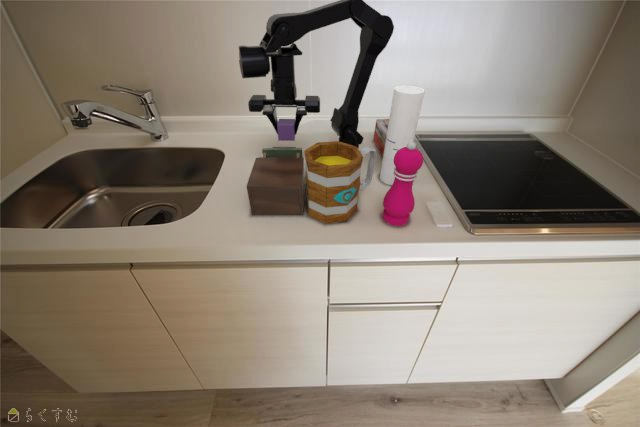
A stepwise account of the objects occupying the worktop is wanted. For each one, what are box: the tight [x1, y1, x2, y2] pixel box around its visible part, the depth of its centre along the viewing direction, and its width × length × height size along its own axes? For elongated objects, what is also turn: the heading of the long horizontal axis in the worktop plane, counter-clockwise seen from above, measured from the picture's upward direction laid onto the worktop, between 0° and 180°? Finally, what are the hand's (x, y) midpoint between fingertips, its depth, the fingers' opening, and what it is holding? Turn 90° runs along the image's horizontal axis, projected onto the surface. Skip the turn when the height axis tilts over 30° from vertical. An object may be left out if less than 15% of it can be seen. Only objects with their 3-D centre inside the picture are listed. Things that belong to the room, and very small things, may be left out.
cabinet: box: [246, 157, 305, 216], centre depth 73 cm, size 14×13×9 cm
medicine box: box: [373, 118, 389, 157], centre depth 96 cm, size 15×8×8 cm, turn 6°
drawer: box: [261, 146, 304, 158], centre depth 81 cm, size 17×11×7 cm, turn 1°
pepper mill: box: [382, 141, 424, 227], centre depth 64 cm, size 7×7×20 cm
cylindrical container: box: [379, 84, 426, 186], centre depth 76 cm, size 7×7×25 cm
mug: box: [303, 140, 377, 225], centre depth 70 cm, size 20×14×15 cm
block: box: [277, 118, 297, 142], centre depth 81 cm, size 5×5×5 cm
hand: (287, 134), depth 82 cm, fingers closed on block, 4 cm apart
